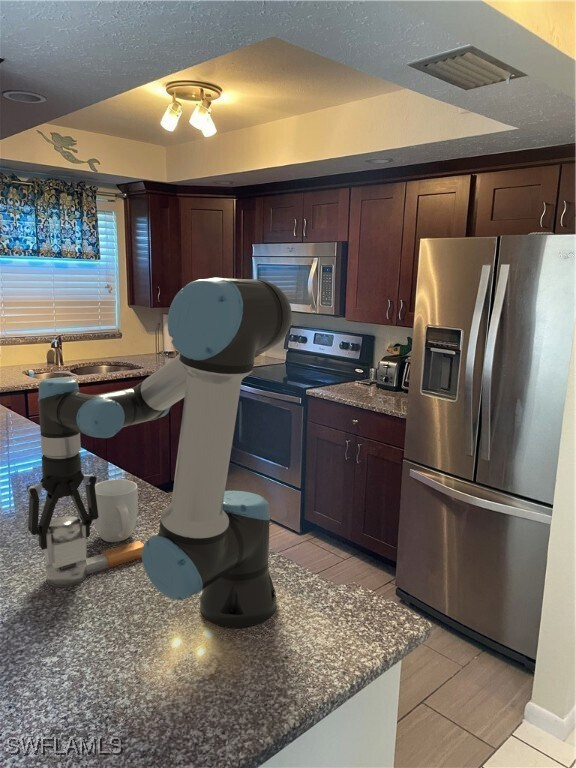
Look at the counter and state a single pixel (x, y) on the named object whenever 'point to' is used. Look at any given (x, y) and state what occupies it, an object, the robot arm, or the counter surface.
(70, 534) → the metal knob on block
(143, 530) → the counter surface
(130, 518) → the mug
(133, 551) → the ratchet
